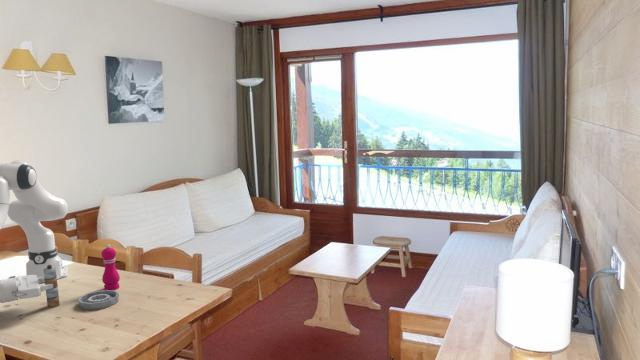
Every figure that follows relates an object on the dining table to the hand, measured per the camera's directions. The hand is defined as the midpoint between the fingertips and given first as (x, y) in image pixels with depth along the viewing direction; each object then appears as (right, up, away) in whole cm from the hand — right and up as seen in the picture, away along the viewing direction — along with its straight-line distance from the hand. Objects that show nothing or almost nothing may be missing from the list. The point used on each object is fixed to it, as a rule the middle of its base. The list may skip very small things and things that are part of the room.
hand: (51, 282), depth 207 cm
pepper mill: (+16, -7, +20) cm, 27 cm away
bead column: (0, -10, +1) cm, 10 cm away
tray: (+18, -9, +3) cm, 20 cm away
